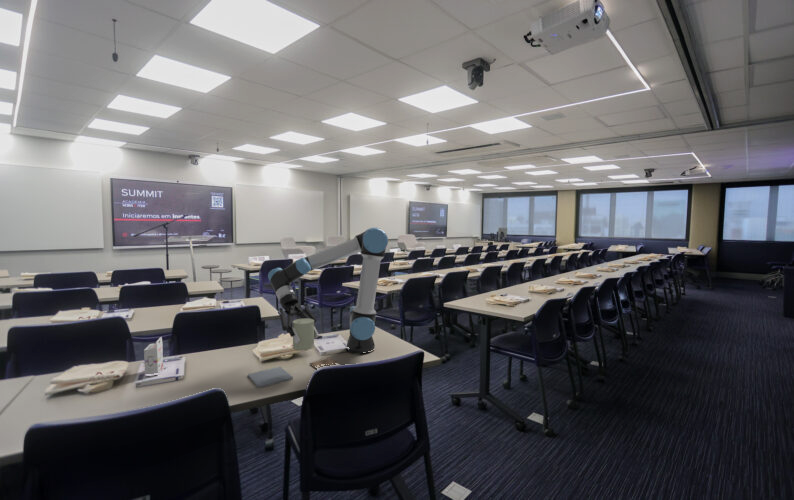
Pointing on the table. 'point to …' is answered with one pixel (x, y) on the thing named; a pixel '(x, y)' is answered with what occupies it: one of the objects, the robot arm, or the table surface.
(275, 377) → the grey mat
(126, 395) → the table surface
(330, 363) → the walnut coaster
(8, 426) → the table surface
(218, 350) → the table surface
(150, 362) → the ink cartridge box
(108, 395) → the table surface
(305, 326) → the can
